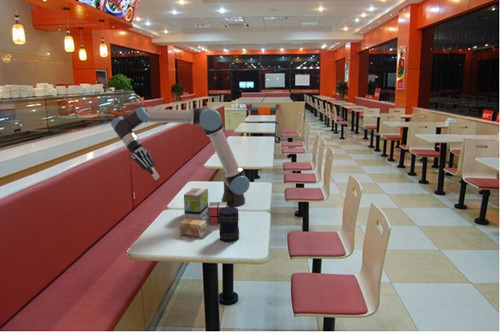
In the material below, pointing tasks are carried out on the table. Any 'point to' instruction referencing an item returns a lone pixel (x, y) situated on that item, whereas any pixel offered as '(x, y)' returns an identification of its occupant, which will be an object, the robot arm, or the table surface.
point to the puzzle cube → (215, 212)
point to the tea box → (196, 203)
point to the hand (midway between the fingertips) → (157, 178)
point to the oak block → (193, 227)
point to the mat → (197, 236)
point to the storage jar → (229, 224)
